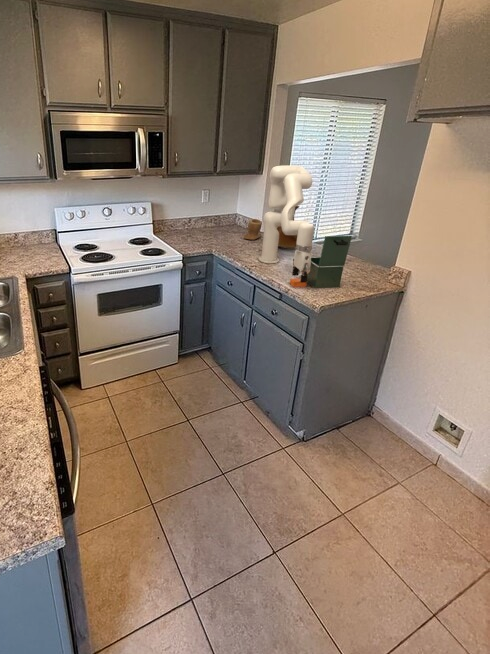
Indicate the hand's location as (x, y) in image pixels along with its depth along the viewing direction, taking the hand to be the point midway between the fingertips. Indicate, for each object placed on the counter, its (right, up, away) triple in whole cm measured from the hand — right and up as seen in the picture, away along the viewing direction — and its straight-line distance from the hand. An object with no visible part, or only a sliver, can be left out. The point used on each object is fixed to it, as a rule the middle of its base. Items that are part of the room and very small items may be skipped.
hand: (299, 278), depth 189 cm
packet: (0, -4, +2) cm, 4 cm away
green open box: (+14, -2, +6) cm, 15 cm away
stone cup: (-3, +30, +86) cm, 91 cm away
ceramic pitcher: (+15, +21, +65) cm, 70 cm away
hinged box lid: (+14, +14, -9) cm, 22 cm away
